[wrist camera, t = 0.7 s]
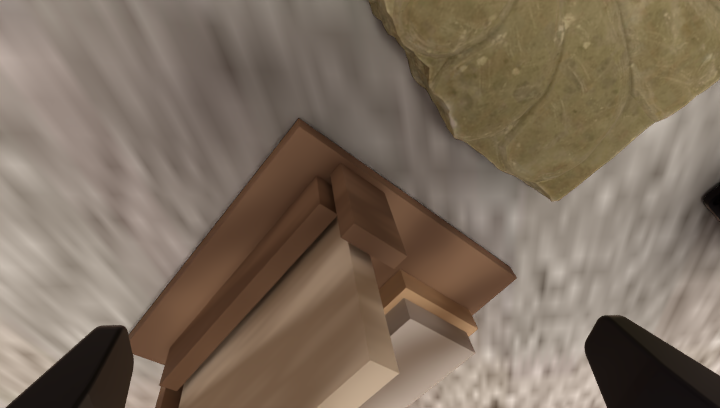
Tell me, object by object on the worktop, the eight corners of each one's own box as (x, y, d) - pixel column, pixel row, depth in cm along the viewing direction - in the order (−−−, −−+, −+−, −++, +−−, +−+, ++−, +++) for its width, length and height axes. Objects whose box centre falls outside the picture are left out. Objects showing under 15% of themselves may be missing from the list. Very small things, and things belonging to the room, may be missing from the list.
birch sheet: (356, 201, 22) (399, 373, 13) (208, 362, 26) (171, 563, 18) (337, 189, 21) (369, 360, 13) (190, 355, 26) (143, 559, 18)
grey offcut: (466, 332, 26) (475, 353, 25) (370, 411, 29) (373, 433, 28) (403, 297, 24) (410, 318, 22) (306, 387, 27) (307, 410, 25)
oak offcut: (469, 310, 27) (478, 328, 26) (365, 397, 30) (368, 418, 29) (400, 269, 25) (406, 287, 23) (294, 369, 28) (295, 390, 27)
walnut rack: (509, 267, 27) (560, 344, 22) (338, 413, 33) (347, 501, 28) (298, 118, 20) (302, 181, 15) (127, 336, 26) (88, 435, 21)
